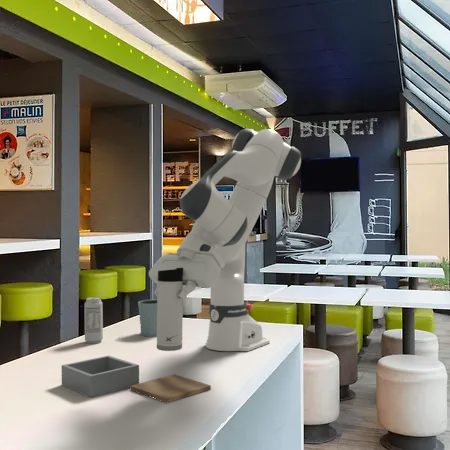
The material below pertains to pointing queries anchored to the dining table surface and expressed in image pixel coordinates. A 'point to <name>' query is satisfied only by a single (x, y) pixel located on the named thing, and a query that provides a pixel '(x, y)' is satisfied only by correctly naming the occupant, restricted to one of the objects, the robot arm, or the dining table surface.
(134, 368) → the crate
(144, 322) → the teal cup
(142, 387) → the serving board
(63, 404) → the dining table surface
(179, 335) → the travel mug
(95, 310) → the energy drink can
